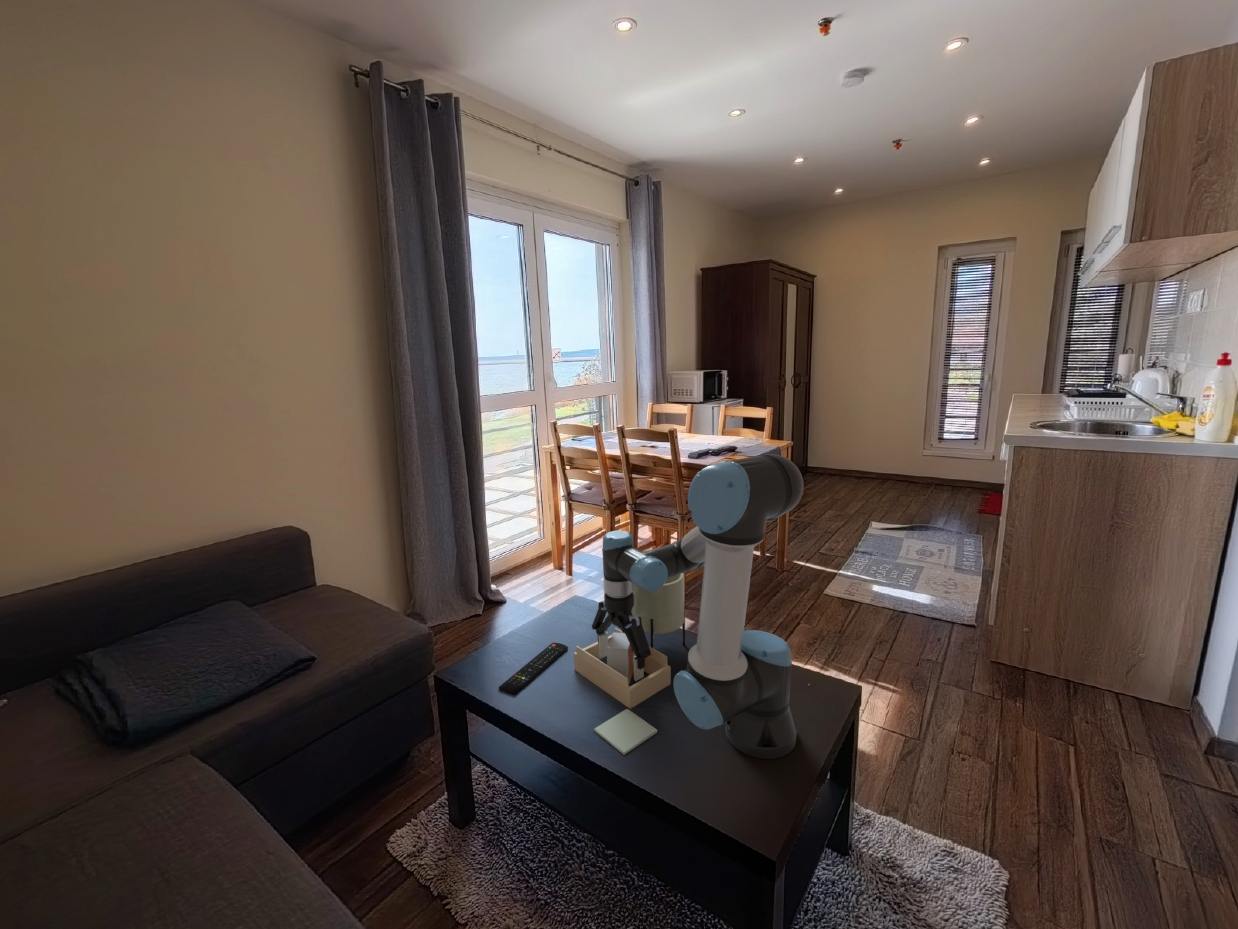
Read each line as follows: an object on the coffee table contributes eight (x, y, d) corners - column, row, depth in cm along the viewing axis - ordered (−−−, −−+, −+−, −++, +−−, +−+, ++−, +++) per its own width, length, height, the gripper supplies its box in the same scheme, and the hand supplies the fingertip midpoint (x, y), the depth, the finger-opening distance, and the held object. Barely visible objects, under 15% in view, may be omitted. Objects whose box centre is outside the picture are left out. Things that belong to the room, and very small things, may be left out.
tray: (670, 684, 139) (670, 657, 137) (630, 709, 130) (629, 681, 128) (614, 649, 155) (613, 626, 153) (574, 669, 146) (573, 644, 144)
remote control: (498, 692, 138) (498, 687, 138) (554, 645, 159) (553, 641, 159) (515, 697, 136) (514, 693, 136) (569, 650, 156) (568, 645, 156)
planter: (652, 629, 166) (651, 558, 160) (695, 648, 155) (695, 572, 150) (617, 649, 155) (615, 574, 150) (660, 671, 144) (659, 591, 139)
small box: (629, 687, 138) (628, 649, 136) (607, 685, 139) (606, 648, 137) (634, 669, 146) (633, 633, 143) (614, 667, 147) (613, 631, 144)
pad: (657, 732, 122) (657, 729, 122) (624, 755, 115) (623, 752, 115) (627, 710, 129) (627, 708, 129) (594, 731, 123) (594, 728, 123)
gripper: (665, 603, 130) (665, 682, 135) (598, 572, 149) (601, 642, 153) (642, 614, 125) (643, 695, 130) (576, 580, 144) (580, 652, 149)
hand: (620, 666), depth 142 cm, fingers open, 13 cm apart
